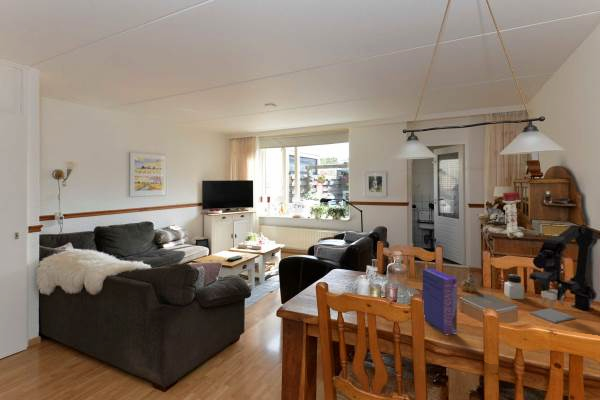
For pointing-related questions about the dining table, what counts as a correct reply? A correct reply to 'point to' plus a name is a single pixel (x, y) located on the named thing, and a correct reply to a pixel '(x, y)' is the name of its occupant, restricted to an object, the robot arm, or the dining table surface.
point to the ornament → (469, 285)
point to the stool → (550, 297)
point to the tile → (552, 315)
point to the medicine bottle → (514, 287)
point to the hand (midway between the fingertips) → (552, 298)
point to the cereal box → (440, 300)
